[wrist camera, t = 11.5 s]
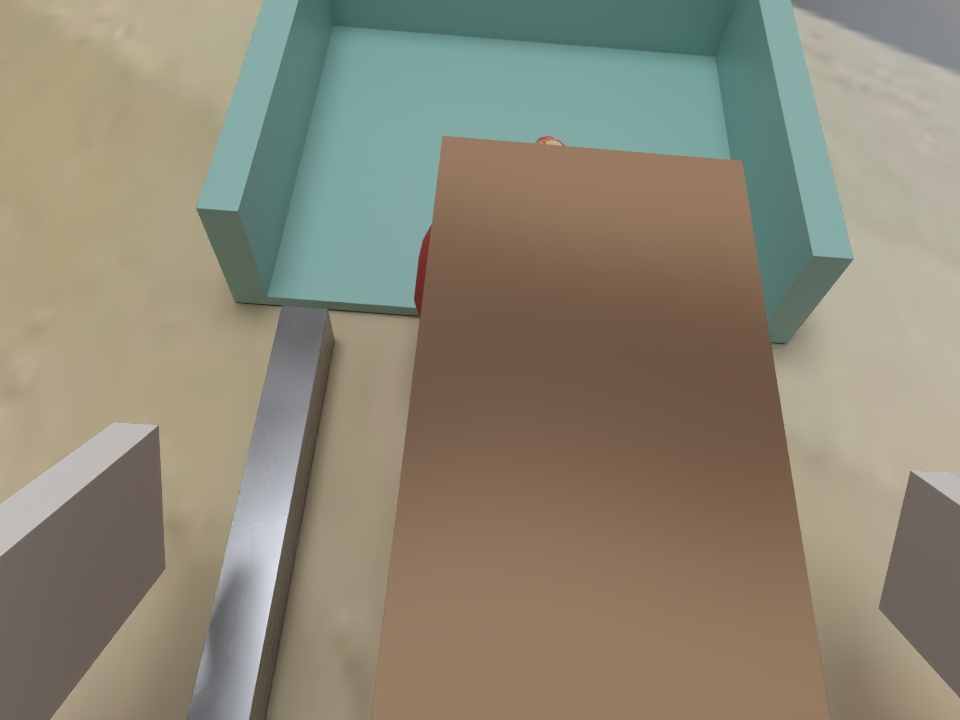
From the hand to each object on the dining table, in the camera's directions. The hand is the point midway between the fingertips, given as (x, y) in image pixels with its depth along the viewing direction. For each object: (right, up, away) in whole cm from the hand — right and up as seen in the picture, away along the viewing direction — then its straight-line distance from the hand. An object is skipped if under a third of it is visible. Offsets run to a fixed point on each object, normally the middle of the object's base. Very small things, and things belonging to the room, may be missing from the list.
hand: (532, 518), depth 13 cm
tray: (0, +9, +11) cm, 15 cm away
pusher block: (0, -4, +4) cm, 6 cm away
